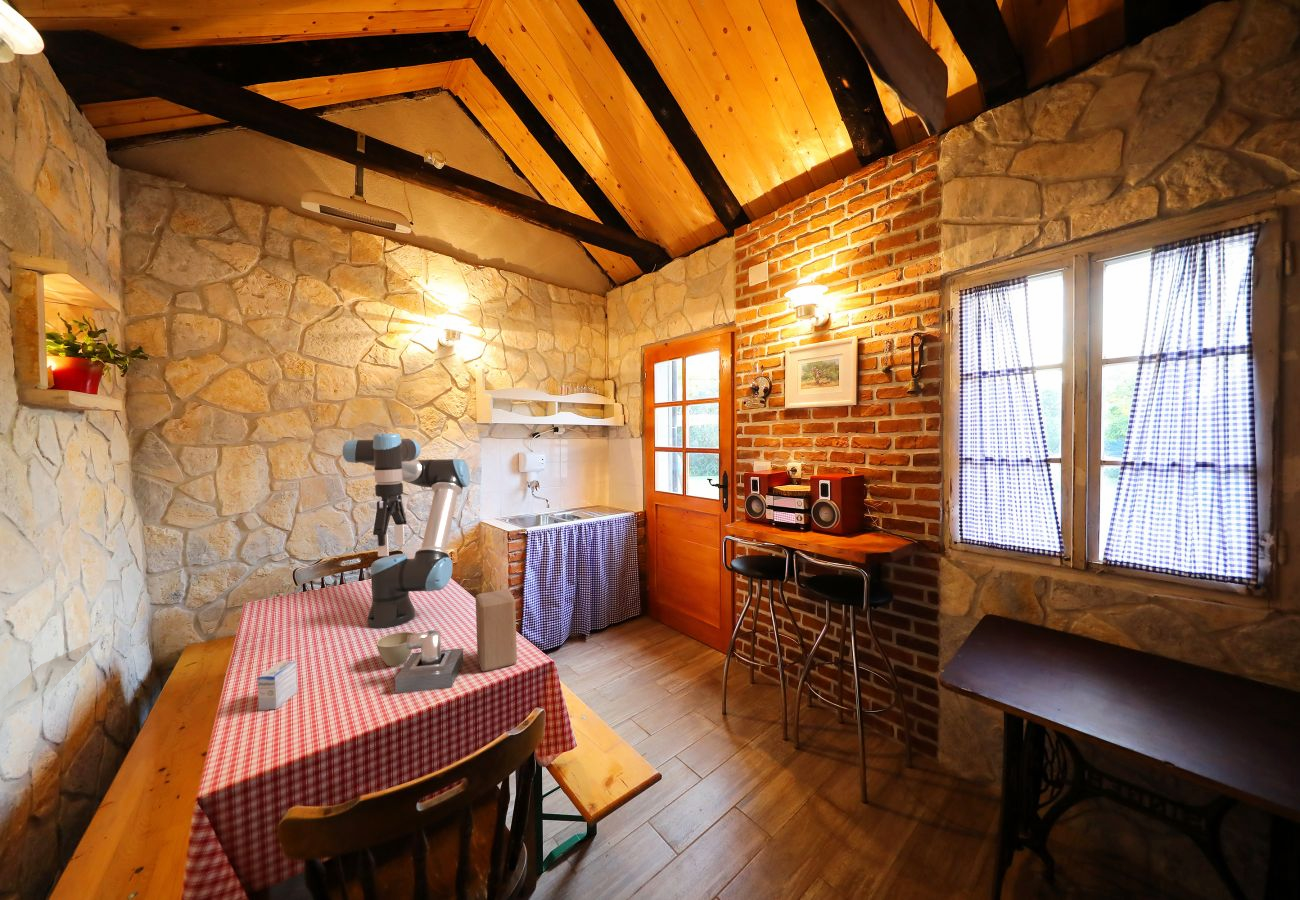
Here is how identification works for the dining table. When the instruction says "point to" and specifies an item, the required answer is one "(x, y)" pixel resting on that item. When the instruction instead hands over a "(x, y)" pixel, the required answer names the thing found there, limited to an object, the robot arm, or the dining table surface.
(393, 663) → the flower pot
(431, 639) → the elbow
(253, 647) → the dining table surface
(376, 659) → the dining table surface
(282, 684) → the medicine box
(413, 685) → the duct socket
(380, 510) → the robot arm
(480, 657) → the block
